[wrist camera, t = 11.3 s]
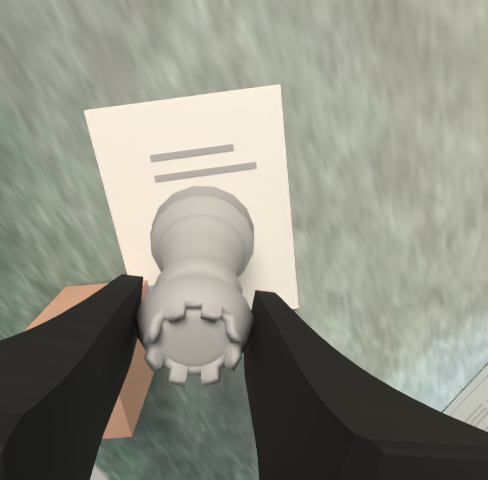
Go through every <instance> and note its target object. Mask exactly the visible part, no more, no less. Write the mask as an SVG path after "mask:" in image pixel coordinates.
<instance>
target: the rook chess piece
mask: <svg viewBox="0 0 488 480" xmlns="http://www.w3.org/2000/svg"><path fill="white" fill-rule="evenodd" d="M150 240H151V253H152V256H153V258H154V260H155V262H156V264H157V266H158V268H159V269H160V271H161V273H160V274H159V275H158V278H157V280H156V282H155V285H154V287H153V289H152V291H151V292H149V293H148V294H147V295H146V296H145V297H144V298H143V299H142V302H141V304H140V307H139V309H138V311H137V314H136V316H135V322H136V333H137V338H138V339H139V341H140V343H141V344H142V346H143V348H144V349H145V351H146V353H145V357H144V359H145V361H146V362H147V364H148V365H149V367H150V369H151V370H152V372H154V371H156V370H157V369H159V368H161V367H162V365H163V366H164V367H166V368H167V369H168V370H169V372H168V378H167V382H168V383H171V384H175V385H178V386H181V387H185V383H186V378H187V375H201V381H202V385H203V387H205V386H208V385H211V384H214V383H217V382H220V369H221V368H223V367H227V368H229V369H231V370H233V371H234V370H235V368H236V366H237V364H238V363H239V361H240V359H241V354H242V353H243V352H244V350H245V348H246V347H247V345H248V343H249V341H250V339H251V338H252V334H253V321H254V316H253V314H252V312H251V309H250V307H249V305H248V302H247V300H246V298H245V297H244V296H243V295H242V288H241V285H240V283H239V281H238V279H237V277H239V276H240V275H241V274H242V273H243V272H244V270H245V268H246V266H247V264H248V263H249V261H250V259H251V257H252V255H253V248H254V225H253V223H252V220H251V218H250V215H249V212H248V210H247V208H246V207H245V206H244V205H243V204H242V203H241V202H240V201H239V200H238V199H237V198H236V197H235V196H234V195H233V194H230V193H228V192H226V191H223V190H221V189H219V188H216V187H213V186H192V187H189V188H186V189H184V190H181V191H178V192H176V193H173V194H172V195H171V196H170V197H169V198H168V199H167V200H166V201H165V202H164V203H163V204H162V205H161V206H160V207H159V208H158V211H157V213H156V216H155V218H154V221H153V223H152V230H151V232H150Z"/></svg>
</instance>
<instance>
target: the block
mask: <svg viewBox="0 0 488 480" xmlns="http://www.w3.org/2000/svg"><path fill="white" fill-rule="evenodd" d="M107 284H108V283H104V284H92V285H81V286H70V287H65V288H64V289H63V290H62V291H61V292H60V293H59V295H58V296H57V297H56V298H55V299H54V300H53V301H52V302H51V303H50V304H49V305H48V306H47V307H46V308H45V309H44V311H43V312H42V313H41V314H40V315H39V316H38V317H37V318H36V319H35V320H34V321H33V322H32V323H31V324H30V325H29V326H28V328H27V329H26V330H29V329H31V328H33V327H35V326H37V325H40V324H42V323H44V322H46V321H48V320H50V319H52V318H54V317H56V316H57V315H59V314H61V313H63V312H64V311H66V310H68V309H70V308H71V307H73V306H75V305H76V304H78V303H80V302H82V301H83V300H85V299H86V298H88V297H89V296H91V295H92V294H94V293H95V292H97V291H98V290H100V289H101V288H103V287H104V286H106V285H107ZM149 292H150V291H149V287H148V283H147V280H143V287H142V298H141V302H142V299H143V298H144V297H145V296H146V295H147V294H148V293H149ZM26 330H25V331H26ZM145 353H146V351H145V349H144V348H143V346H142V344H141V343H140V341H139V339H138V338H137V342H136V346H135V350H134V354H133V358H132V362H131V366H130V368H129V371H128V373H127V376H126V379H125V381H124V384H123V386H122V389H121V391H120V394H119V396H118V399H117V402H116V404H115V407H114V409H113V412H112V414H111V417H110V419H109V422H108V424H107V427H106V429H105V432H104V435H103V438H102V439H109V438H124V437H132V435H133V433H134V430H135V427H136V424H137V421H138V418H139V415H140V412H141V409H142V406H143V404H144V401H145V398H146V395H147V392H148V389H149V386H150V383H151V380H152V378H153V375H154V372H155V371H154V372H152V370H151V369H150V367H149V365H148V364H147V362H146V361H145V359H144V357H145Z"/></svg>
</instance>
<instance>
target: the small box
mask: <svg viewBox="0 0 488 480" xmlns="http://www.w3.org/2000/svg"><path fill="white" fill-rule="evenodd" d="M442 413H444V414H446V415H449V416H451V417H453V418H456V419H458V420H461V421H463V422H465V423H468V424H470V425H472V426H475V427H477V428H480V429H482V430H484V431H487V432H488V364H487V365H486V366H485V367H484V368H483V369H482V371H481V372H480V373H479V374H478V375H477V376H476V377H475V378H474V379H473V380H472V381H471V382H470V383H469V384H468V385H467V387H466V388H465V389H464V390H463V391H462V392H461V393H460V394H459V395H458V396H457V397H456V398H455V399H454V401H453V402H452V403H451V404H450V405H449V406H448V407H447V408H446V409H445V410H444V411H443V412H442Z"/></svg>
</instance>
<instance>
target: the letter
mask: <svg viewBox="0 0 488 480" xmlns="http://www.w3.org/2000/svg"><path fill="white" fill-rule="evenodd" d="M84 114H85V117H86V121H87V125H88V129H89V132H90V136H91V140H92V144H93V147H94V151H95V155H96V158H97V162H98V166H99V170H100V173H101V177H102V181H103V185H104V188H105V192H106V196H107V200H108V203H109V207H110V211H111V215H112V218H113V222H114V226H115V230H116V233H117V237H118V241H119V245H120V248H121V252H122V256H123V259H124V263H125V267H126V271H127V274H128V275H133V276H142V277H143V280H147V283H148V287H149V291H150V292H151V291H152V289H153V287H154V285H155V282H156V280H157V278H158V275H159V274H160V273H161V271H160V269H159V268H158V266H157V264H156V262H155V260H154V258H153V256H152V253H151V240H150V232H151V230H152V223H153V221H154V218H155V216H156V213H157V211H158V208H159V207H160V206H161V205H162V204H163V203H164V202H165V201H166V200H167V199H168V198H169V197H170V196H171V195H172V194H173V193H176V192H178V191H181V190H184V189H186V188H189V187H192V186H213V187H216V188H219V189H221V190H223V191H226V192H228V193H230V194H233V195H234V196H235V197H236V198H237V199H238V200H239V201H240V202H241V203H242V204H243V205H244V206H245V207H246V208H247V210H248V212H249V215H250V218H251V220H252V223H253V225H254V248H253V255H252V257H251V259H250V261H249V263H248V264H247V266H246V268H245V270H244V272H243V273H242V274H241V275H240V276H239V277H237V279H238V281H239V283H240V285H241V288H242V295H243V296H244V297H245V298H246V300H247V302H248V305H249V307H250V309H252V304H253V299H254V294H255V290H259V291H268V292H275V293H276V294H277V295H279V296H280V297H281V298H282V299H283V300H284V301H285V302H286V304H287V305H288V306H289V307H290V308H291V309H297V308H298V296H297V284H296V272H295V259H294V247H293V235H292V223H291V211H290V198H289V186H288V174H287V162H286V149H285V137H284V125H283V113H282V100H281V88H280V84H278V85H271V86H263V87H256V88H248V89H241V90H233V91H226V92H218V93H211V94H203V95H196V96H188V97H181V98H173V99H166V100H158V101H151V102H143V103H136V104H128V105H121V106H114V107H106V108H99V109H91V110H84Z"/></svg>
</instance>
